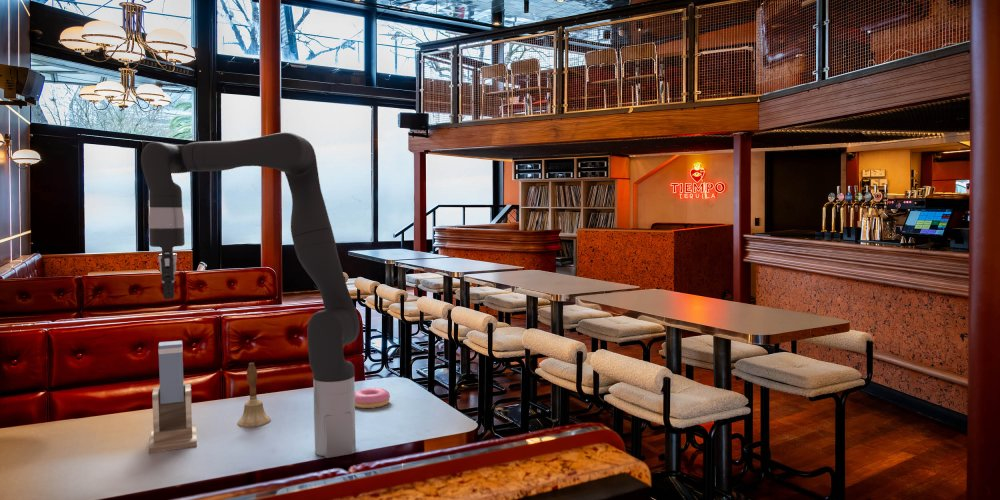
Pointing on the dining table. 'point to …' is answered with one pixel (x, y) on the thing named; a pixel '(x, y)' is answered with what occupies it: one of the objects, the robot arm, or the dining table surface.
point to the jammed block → (171, 372)
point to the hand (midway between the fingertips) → (169, 297)
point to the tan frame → (172, 423)
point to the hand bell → (253, 404)
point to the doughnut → (371, 398)
